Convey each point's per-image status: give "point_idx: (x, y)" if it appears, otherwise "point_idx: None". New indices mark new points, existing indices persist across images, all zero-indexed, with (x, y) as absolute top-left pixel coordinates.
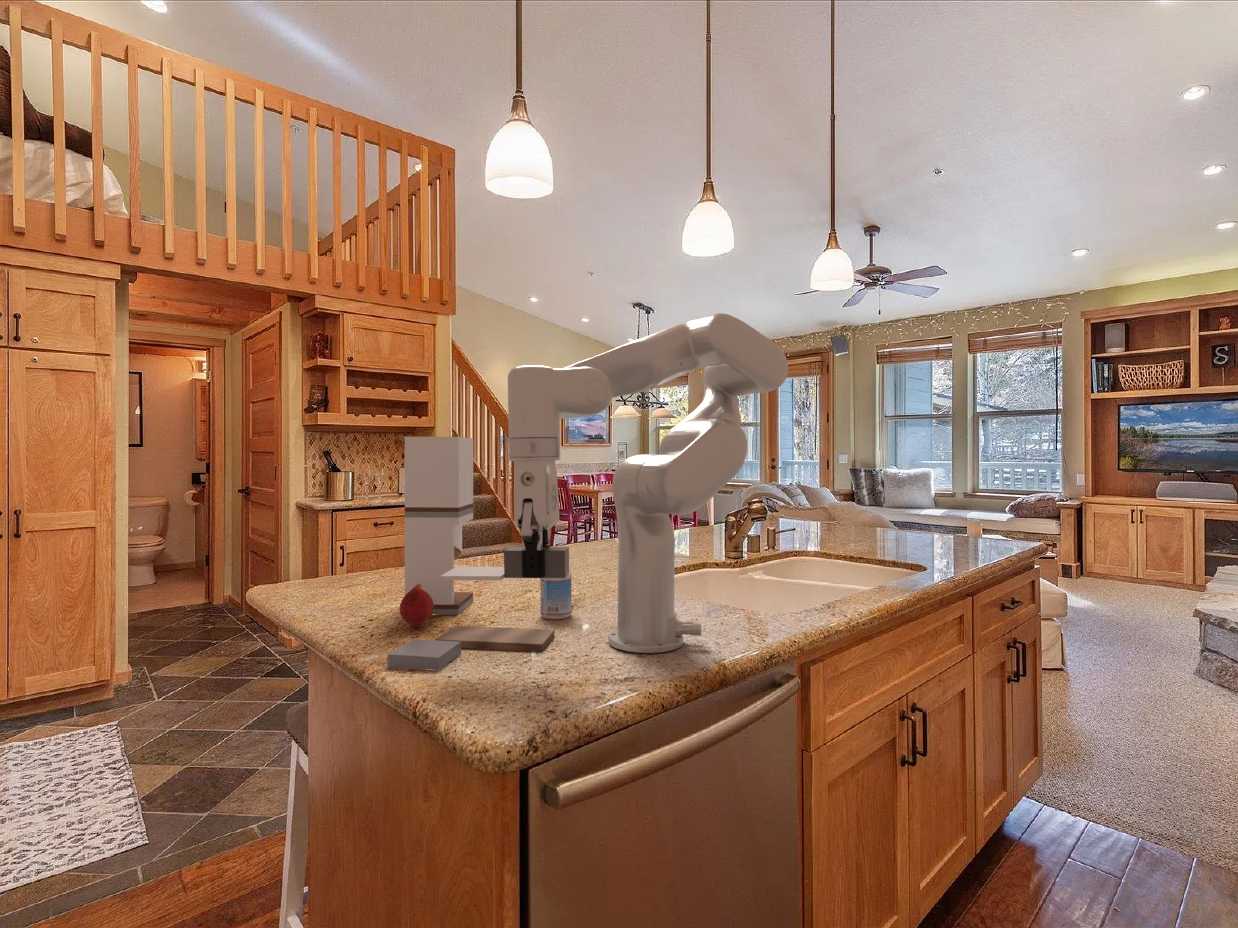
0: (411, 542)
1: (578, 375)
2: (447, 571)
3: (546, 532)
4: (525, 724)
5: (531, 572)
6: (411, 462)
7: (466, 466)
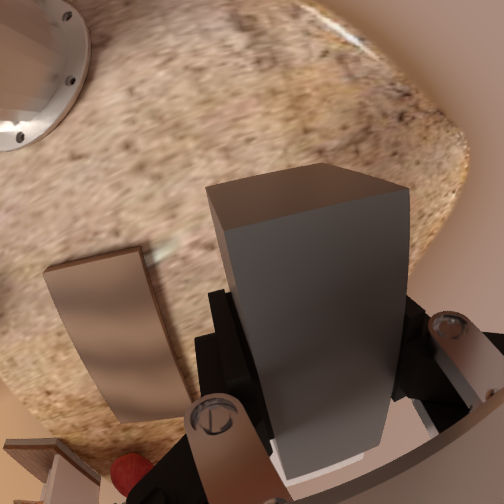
0: None
1: None
2: (57, 498)
3: (273, 470)
4: (434, 140)
5: None
6: None
7: None
